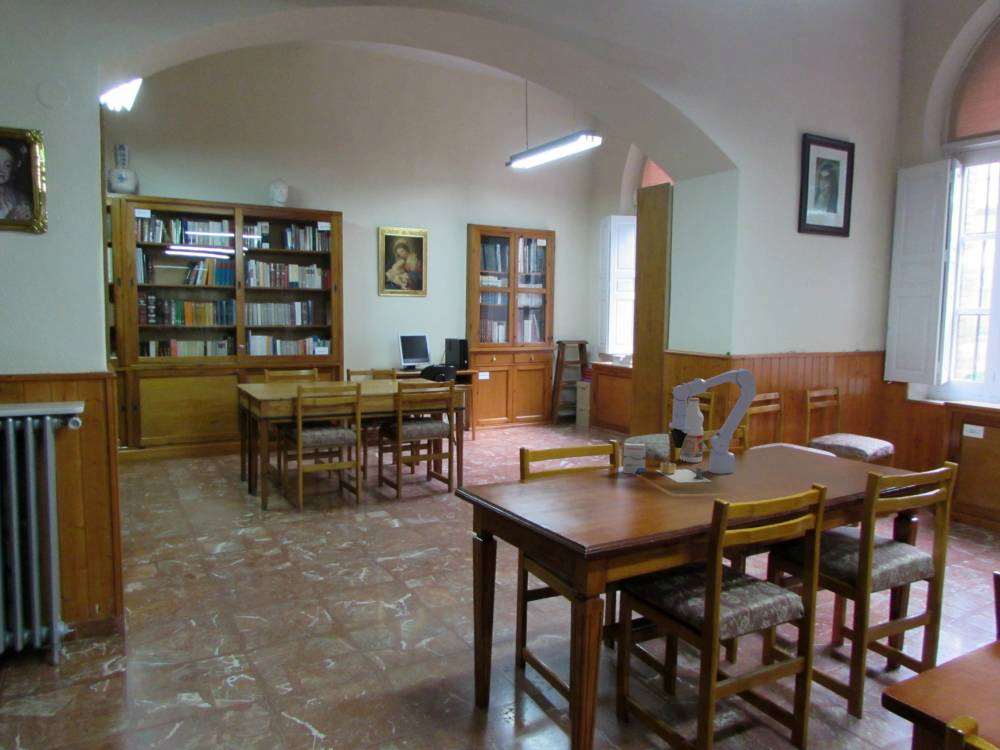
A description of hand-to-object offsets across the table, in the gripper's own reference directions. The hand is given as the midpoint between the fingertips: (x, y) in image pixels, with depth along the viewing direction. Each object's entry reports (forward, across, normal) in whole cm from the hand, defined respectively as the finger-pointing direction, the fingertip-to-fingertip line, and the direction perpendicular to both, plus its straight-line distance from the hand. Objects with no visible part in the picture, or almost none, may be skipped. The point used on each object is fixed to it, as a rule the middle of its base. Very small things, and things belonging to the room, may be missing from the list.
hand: (678, 447), depth 272 cm
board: (+10, +11, -3) cm, 15 cm away
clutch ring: (+8, +6, -7) cm, 12 cm away
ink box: (+10, 0, -19) cm, 22 cm away
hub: (+10, +6, -7) cm, 14 cm away
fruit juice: (+10, -19, +16) cm, 27 cm away
